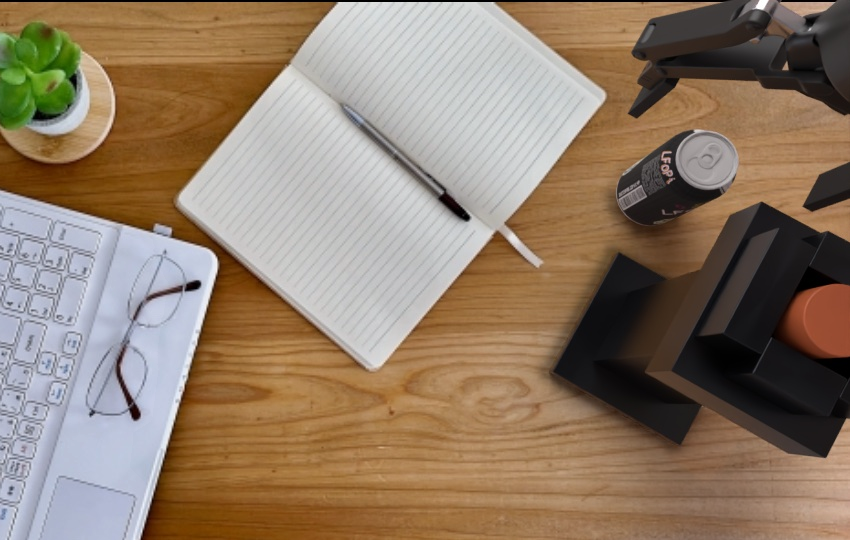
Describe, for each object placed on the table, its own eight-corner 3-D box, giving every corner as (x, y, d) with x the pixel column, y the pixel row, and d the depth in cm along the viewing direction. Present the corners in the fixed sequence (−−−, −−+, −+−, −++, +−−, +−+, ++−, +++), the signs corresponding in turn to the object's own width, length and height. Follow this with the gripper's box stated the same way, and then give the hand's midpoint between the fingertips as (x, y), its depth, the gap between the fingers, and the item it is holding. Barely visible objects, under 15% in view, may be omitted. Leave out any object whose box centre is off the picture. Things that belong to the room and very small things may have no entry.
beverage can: (691, 189, 76) (763, 151, 64) (655, 240, 75) (720, 211, 63) (636, 152, 76) (696, 107, 65) (600, 203, 76) (654, 167, 64)
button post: (674, 444, 73) (882, 473, 47) (548, 372, 74) (680, 359, 48) (739, 323, 74) (977, 284, 48) (613, 253, 75) (777, 178, 49)
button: (822, 372, 50) (860, 370, 46) (758, 337, 50) (791, 332, 47) (853, 313, 50) (892, 307, 47) (789, 278, 50) (823, 270, 47)
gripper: (1239, 80, 39) (915, 187, 60) (738, -163, 42) (595, 21, 63) (1171, 219, 39) (867, 278, 60) (666, -37, 41) (545, 106, 62)
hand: (726, 146), depth 61 cm, fingers open, 13 cm apart
